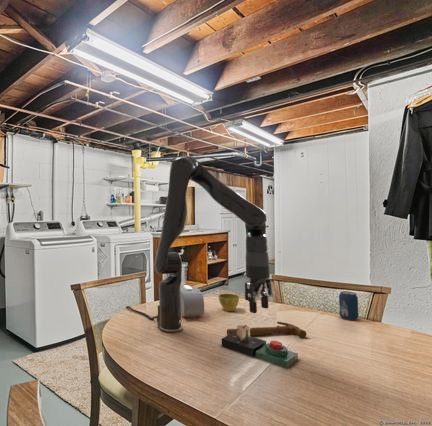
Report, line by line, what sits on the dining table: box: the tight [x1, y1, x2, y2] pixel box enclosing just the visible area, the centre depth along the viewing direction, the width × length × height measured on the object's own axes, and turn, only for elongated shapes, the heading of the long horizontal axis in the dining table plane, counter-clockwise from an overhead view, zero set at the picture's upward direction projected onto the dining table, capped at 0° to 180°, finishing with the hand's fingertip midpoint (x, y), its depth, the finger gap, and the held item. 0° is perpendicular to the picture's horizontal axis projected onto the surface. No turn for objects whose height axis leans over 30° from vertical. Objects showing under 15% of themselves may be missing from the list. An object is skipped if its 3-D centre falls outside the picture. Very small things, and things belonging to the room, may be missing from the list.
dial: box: [236, 324, 251, 342], centre depth 112 cm, size 4×4×5 cm
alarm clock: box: [180, 284, 205, 318], centre depth 153 cm, size 21×10×13 cm, turn 179°
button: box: [269, 340, 283, 350], centre depth 103 cm, size 4×4×2 cm
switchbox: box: [255, 342, 299, 369], centre depth 103 cm, size 10×9×4 cm
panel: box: [221, 332, 267, 358], centre depth 112 cm, size 12×10×3 cm
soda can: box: [338, 290, 359, 322], centre depth 141 cm, size 7×7×12 cm
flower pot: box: [217, 293, 240, 312], centre depth 157 cm, size 10×10×7 cm
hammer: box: [226, 321, 307, 339], centre depth 125 cm, size 12×3×30 cm
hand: (259, 310), depth 107 cm, fingers open, 8 cm apart
